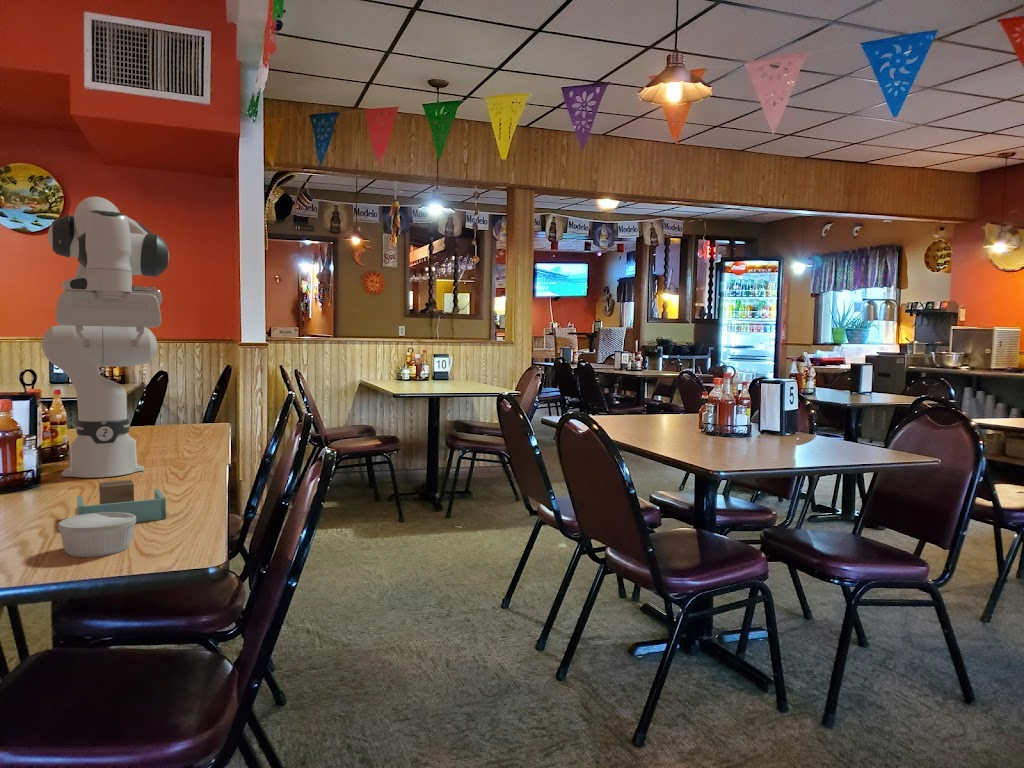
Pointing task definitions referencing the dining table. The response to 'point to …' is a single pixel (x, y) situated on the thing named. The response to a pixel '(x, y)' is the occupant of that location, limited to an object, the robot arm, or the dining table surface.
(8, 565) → the dining table surface
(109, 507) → the box
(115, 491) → the walnut tile block
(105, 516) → the ramekin
